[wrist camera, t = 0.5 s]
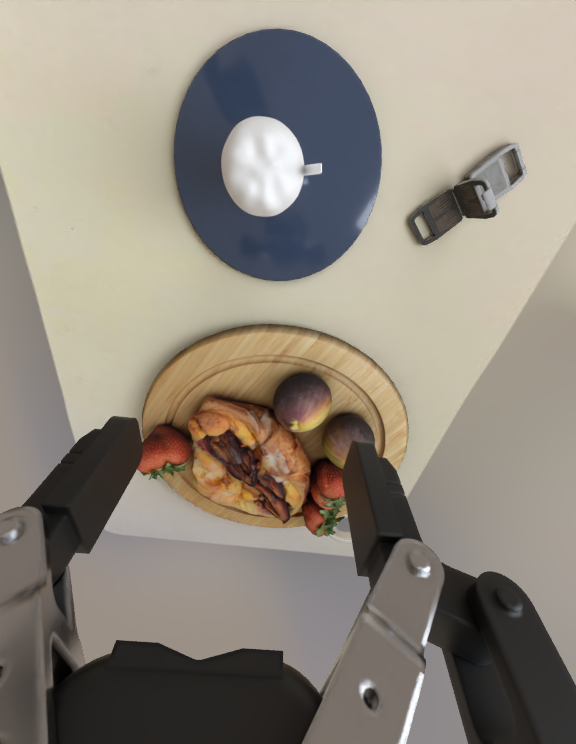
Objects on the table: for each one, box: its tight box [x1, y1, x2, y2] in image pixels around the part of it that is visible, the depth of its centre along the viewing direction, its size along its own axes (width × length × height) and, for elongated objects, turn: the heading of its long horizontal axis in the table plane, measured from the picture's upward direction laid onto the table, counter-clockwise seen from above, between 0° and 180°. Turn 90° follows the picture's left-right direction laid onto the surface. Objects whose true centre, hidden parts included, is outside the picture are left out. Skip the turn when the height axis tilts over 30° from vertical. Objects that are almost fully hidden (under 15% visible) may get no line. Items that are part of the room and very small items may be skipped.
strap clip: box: [409, 143, 527, 245], centre depth 22 cm, size 8×3×4 cm, turn 128°
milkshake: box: [221, 116, 322, 217], centre depth 19 cm, size 4×5×10 cm
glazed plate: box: [174, 29, 382, 281], centre depth 24 cm, size 16×16×1 cm
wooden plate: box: [137, 324, 408, 537], centre depth 35 cm, size 32×32×8 cm
